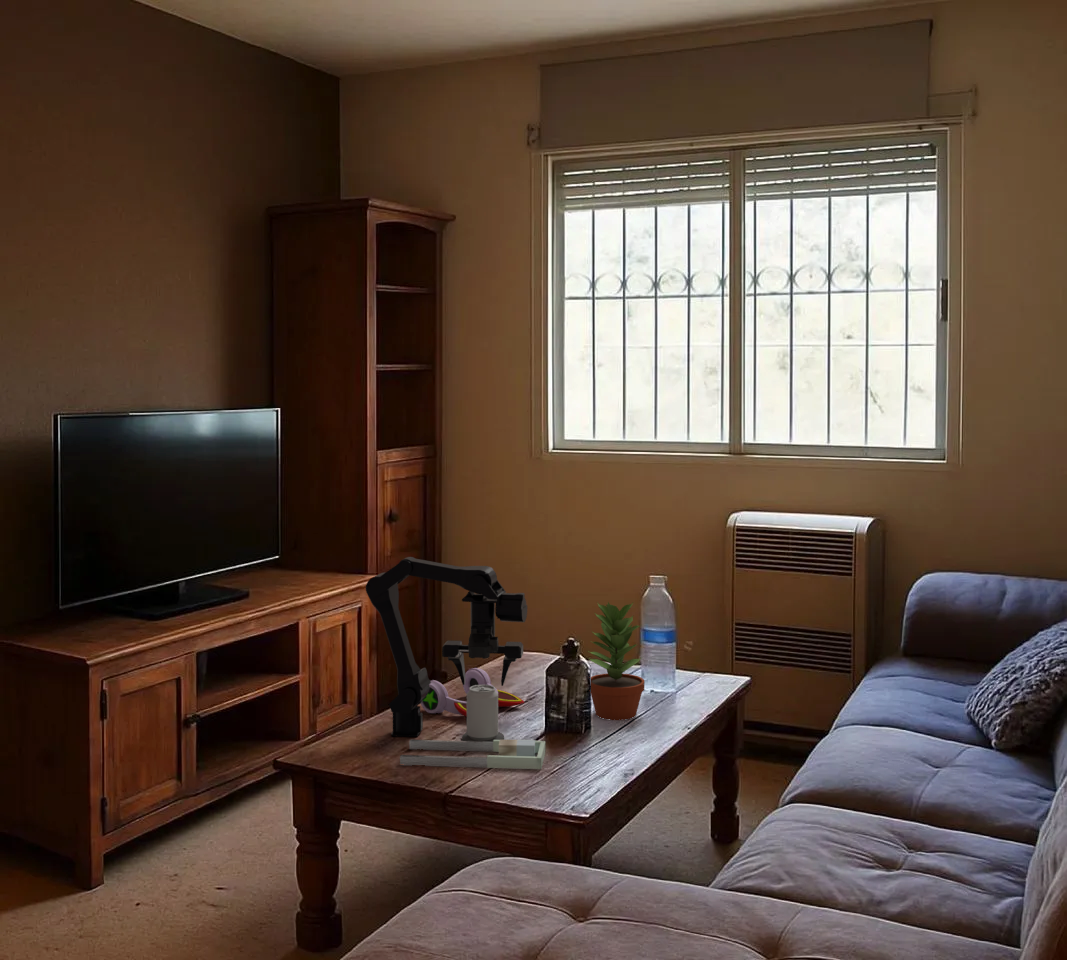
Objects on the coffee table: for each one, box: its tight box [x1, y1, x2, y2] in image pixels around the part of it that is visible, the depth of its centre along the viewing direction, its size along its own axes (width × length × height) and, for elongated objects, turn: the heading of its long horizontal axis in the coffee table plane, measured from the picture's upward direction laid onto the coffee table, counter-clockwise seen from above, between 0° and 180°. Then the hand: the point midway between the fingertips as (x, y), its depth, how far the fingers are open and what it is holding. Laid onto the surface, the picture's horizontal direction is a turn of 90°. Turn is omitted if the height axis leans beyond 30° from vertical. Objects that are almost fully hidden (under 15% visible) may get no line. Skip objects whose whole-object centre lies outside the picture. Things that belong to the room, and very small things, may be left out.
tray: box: [486, 740, 546, 770], centre depth 267 cm, size 12×12×2 cm
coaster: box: [461, 731, 505, 742], centre depth 281 cm, size 10×10×1 cm
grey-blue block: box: [516, 739, 536, 757], centre depth 267 cm, size 4×4×4 cm
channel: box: [399, 739, 493, 769], centre depth 268 cm, size 20×12×2 cm, turn 85°
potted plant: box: [587, 601, 645, 721], centre depth 300 cm, size 15×15×30 cm
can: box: [466, 684, 499, 740], centre depth 281 cm, size 8×8×12 cm
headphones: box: [420, 667, 525, 718], centre depth 306 cm, size 20×10×20 cm
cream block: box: [498, 739, 518, 756], centre depth 267 cm, size 4×4×4 cm
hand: (483, 685), depth 280 cm, fingers open, 9 cm apart
